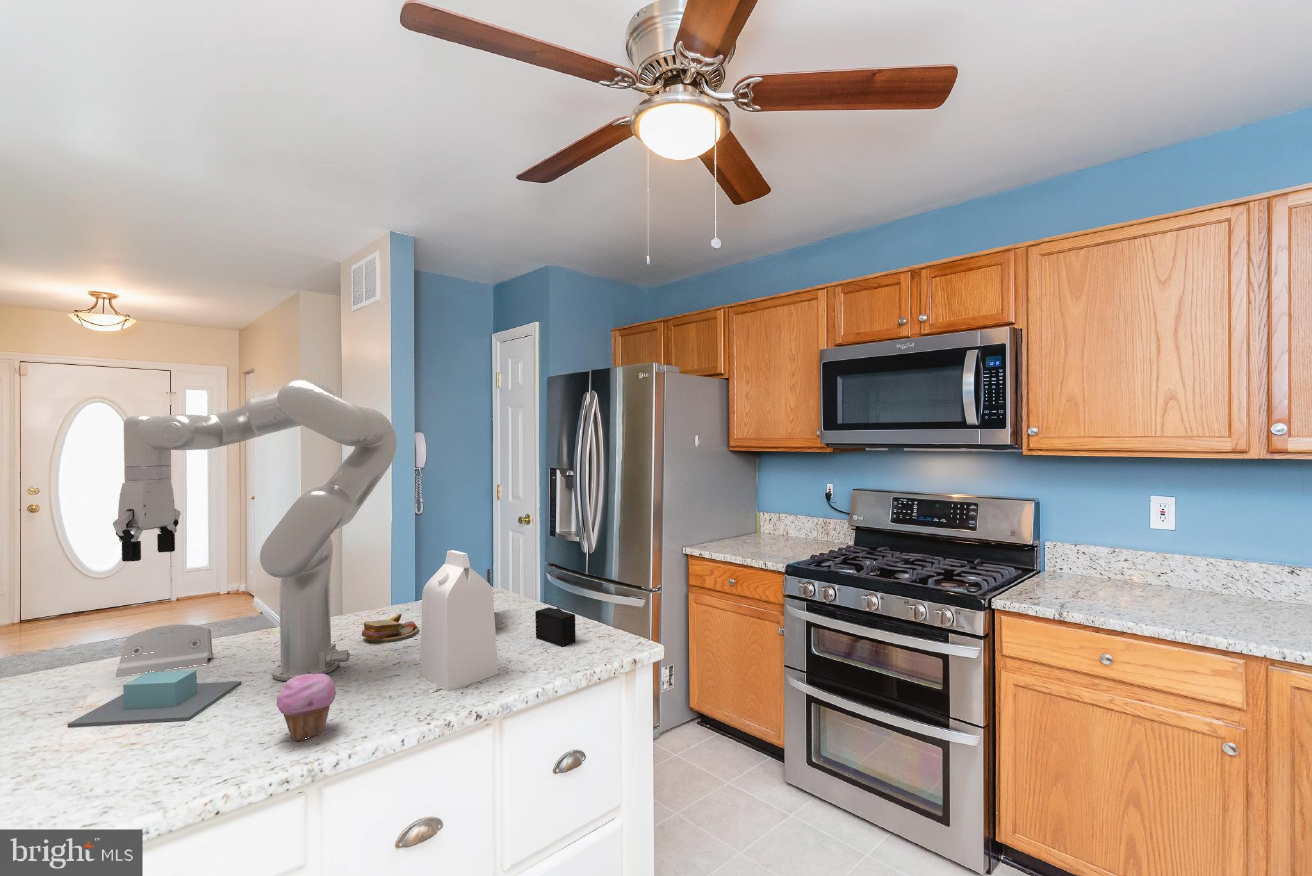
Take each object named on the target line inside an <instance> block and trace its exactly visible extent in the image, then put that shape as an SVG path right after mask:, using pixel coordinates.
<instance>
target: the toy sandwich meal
mask: <svg viewBox="0 0 1312 876" xmlns="http://www.w3.org/2000/svg"><path fill="white" fill-rule="evenodd" d="M401 618H402V613H397V615H395V616H393V617H391V618H389V619H379V620H365V621H364V622H363V630H362V631H361V637H363V638H366V639H368V640H369V641H371V642H375V643H389V642H391V643H392V642H397V641H401V640H405V639H408V638H410V637H413V636H414V635H415V634H416V633H417V632H418V631H419V626H417V624H416V623H415V622H414V621H412V620H411V621H406V622H402V623H401V622H400V620H401Z"/></svg>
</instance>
